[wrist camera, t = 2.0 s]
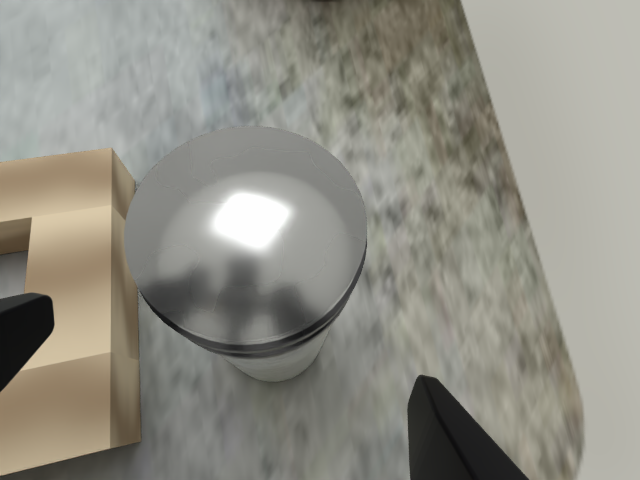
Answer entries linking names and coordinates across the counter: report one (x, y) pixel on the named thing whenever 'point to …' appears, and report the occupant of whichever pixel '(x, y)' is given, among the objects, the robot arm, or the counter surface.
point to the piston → (248, 246)
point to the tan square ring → (72, 309)
